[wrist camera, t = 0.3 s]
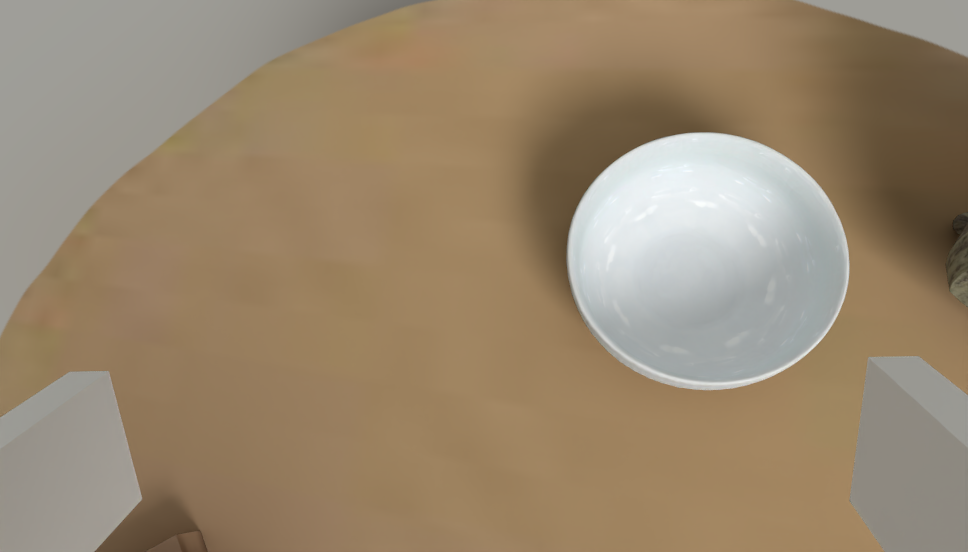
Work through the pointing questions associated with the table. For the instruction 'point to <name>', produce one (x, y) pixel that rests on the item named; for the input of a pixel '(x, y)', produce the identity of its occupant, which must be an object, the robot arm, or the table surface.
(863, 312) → the table surface
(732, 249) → the cereal bowl
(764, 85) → the table surface
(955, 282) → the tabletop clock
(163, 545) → the wooden base block
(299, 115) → the table surface
